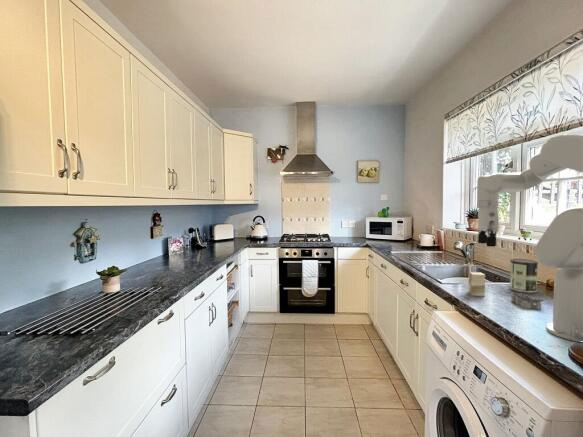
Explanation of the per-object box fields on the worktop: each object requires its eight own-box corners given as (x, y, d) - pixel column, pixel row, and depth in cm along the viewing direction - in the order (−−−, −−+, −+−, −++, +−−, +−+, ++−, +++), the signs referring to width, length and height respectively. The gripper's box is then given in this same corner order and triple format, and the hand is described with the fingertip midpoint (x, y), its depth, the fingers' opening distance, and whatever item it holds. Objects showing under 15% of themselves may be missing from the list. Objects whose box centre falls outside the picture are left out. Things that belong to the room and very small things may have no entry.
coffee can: (534, 288, 140) (535, 259, 140) (539, 294, 132) (540, 263, 131) (508, 285, 146) (509, 257, 145) (510, 290, 137) (511, 261, 136)
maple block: (484, 296, 129) (485, 274, 128) (472, 295, 130) (472, 274, 130) (480, 293, 134) (480, 272, 133) (468, 292, 135) (468, 271, 135)
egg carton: (544, 310, 113) (544, 300, 113) (522, 309, 115) (522, 299, 114) (528, 301, 123) (529, 291, 123) (508, 300, 125) (509, 290, 125)
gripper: (506, 204, 112) (505, 248, 113) (489, 204, 129) (488, 242, 130) (484, 205, 114) (484, 247, 115) (470, 204, 131) (470, 241, 132)
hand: (486, 244), depth 123 cm, fingers open, 9 cm apart
